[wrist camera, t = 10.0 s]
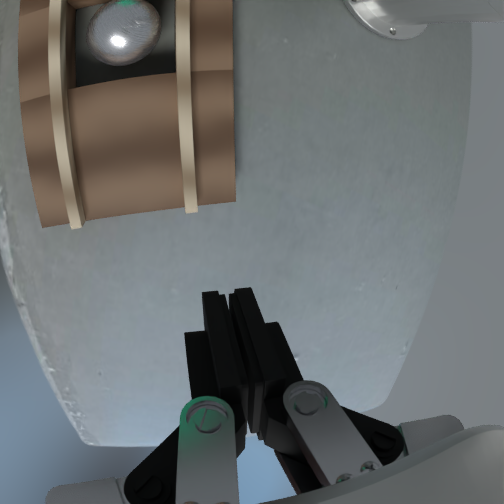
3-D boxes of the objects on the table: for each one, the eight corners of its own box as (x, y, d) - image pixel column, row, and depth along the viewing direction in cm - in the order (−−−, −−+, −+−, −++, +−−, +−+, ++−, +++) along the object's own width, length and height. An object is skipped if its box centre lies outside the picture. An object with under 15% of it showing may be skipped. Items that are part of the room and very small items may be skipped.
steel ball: (141, 44, 17) (101, 90, 21) (189, 26, 20) (146, 64, 24) (95, -11, 14) (61, 41, 18) (148, -22, 17) (111, 21, 21)
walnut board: (33, -1, 16) (14, -11, 13) (226, -30, 20) (236, -47, 16) (51, 215, 27) (37, 235, 23) (229, 191, 31) (239, 207, 27)
